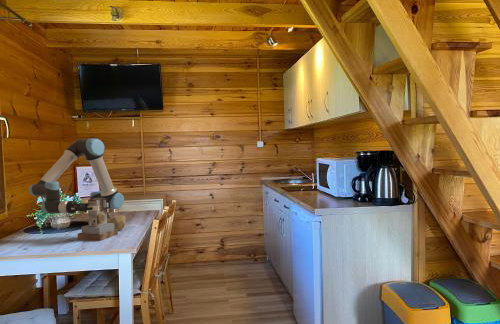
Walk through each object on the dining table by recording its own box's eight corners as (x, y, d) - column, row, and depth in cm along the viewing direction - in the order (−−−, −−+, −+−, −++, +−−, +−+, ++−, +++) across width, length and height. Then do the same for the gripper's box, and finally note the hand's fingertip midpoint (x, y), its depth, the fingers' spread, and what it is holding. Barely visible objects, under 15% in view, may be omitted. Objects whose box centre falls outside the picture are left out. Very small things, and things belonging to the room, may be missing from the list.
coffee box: (98, 223, 220) (98, 197, 220) (107, 223, 218) (106, 197, 218) (88, 226, 211) (87, 199, 211) (97, 226, 209) (96, 199, 209)
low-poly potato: (130, 229, 235) (126, 219, 243) (127, 217, 229) (122, 207, 237) (107, 238, 229) (103, 227, 237) (103, 226, 223) (99, 215, 231)
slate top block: (97, 228, 223) (97, 222, 223) (114, 229, 219) (114, 223, 219) (81, 233, 211) (81, 226, 211) (99, 234, 207) (99, 227, 207)
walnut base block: (96, 234, 225) (96, 228, 225) (117, 235, 221) (117, 229, 221) (77, 240, 210) (77, 233, 210) (100, 241, 205) (100, 235, 205)
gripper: (79, 209, 228) (111, 209, 227) (57, 216, 203) (94, 216, 203) (78, 198, 228) (111, 197, 227) (57, 203, 203) (93, 203, 202)
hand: (103, 206), depth 215 cm, fingers open, 13 cm apart
